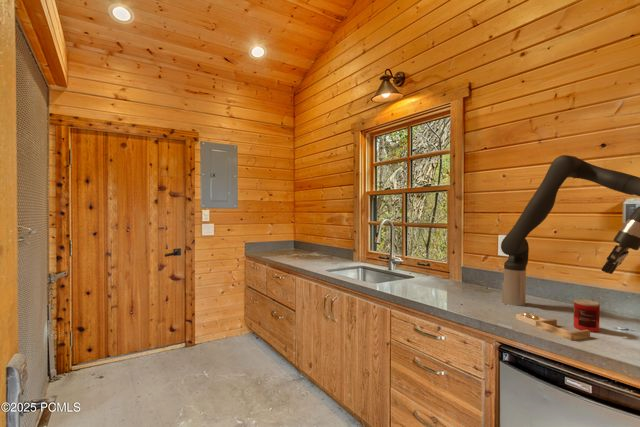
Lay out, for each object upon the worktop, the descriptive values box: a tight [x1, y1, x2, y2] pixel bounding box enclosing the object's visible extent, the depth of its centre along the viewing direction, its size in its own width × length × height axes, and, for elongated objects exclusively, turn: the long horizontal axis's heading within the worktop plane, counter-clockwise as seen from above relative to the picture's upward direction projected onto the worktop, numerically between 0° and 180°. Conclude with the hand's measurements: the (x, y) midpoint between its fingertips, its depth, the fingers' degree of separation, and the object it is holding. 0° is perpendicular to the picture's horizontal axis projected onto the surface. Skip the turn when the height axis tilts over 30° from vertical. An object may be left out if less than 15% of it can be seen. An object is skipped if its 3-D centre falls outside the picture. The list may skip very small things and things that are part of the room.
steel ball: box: [523, 311, 532, 319], centre depth 138 cm, size 3×3×3 cm
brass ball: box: [531, 314, 540, 320], centre depth 134 cm, size 3×3×3 cm
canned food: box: [573, 298, 601, 333], centre depth 128 cm, size 8×8×11 cm
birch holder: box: [535, 318, 591, 341], centre depth 124 cm, size 13×9×3 cm
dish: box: [515, 313, 547, 327], centre depth 136 cm, size 9×6×2 cm, turn 17°
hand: (606, 272), depth 125 cm, fingers open, 8 cm apart
